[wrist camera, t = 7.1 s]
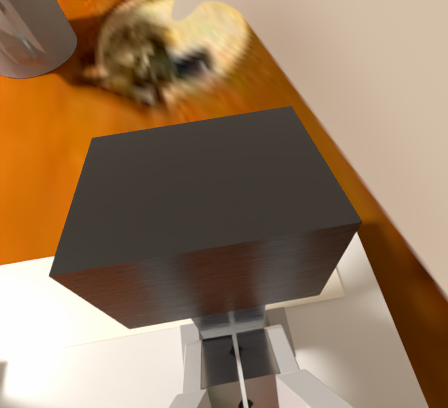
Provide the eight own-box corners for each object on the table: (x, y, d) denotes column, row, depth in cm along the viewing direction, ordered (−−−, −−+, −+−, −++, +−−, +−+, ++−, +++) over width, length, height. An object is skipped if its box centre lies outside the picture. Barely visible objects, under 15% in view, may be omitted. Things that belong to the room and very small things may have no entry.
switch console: (396, 427, 14) (496, 493, 9) (-151, 534, 13) (-415, 678, 8) (325, 228, 19) (360, 191, 14) (-75, 297, 18) (-205, 287, 13)
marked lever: (280, 362, 12) (362, 222, 3) (202, 377, 11) (48, 275, 3) (266, 305, 13) (291, 105, 5) (197, 317, 13) (91, 138, 4)
